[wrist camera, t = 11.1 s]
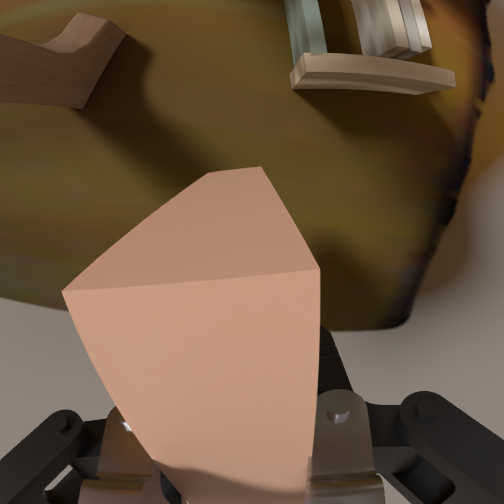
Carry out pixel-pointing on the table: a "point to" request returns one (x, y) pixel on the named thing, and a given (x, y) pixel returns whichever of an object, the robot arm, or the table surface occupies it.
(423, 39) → the offcut rack
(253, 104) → the table surface
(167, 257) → the pink rectangular block
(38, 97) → the wooden block
